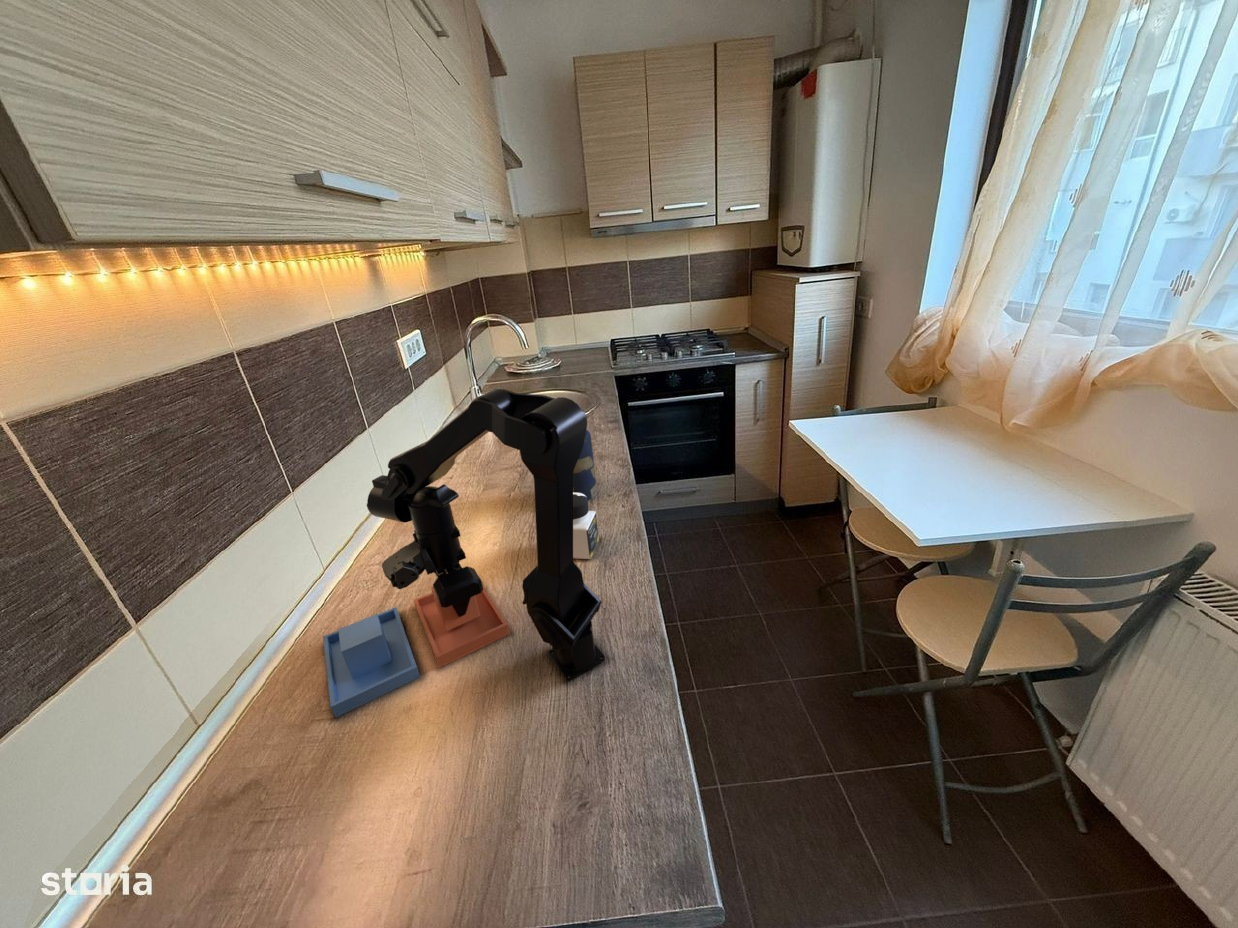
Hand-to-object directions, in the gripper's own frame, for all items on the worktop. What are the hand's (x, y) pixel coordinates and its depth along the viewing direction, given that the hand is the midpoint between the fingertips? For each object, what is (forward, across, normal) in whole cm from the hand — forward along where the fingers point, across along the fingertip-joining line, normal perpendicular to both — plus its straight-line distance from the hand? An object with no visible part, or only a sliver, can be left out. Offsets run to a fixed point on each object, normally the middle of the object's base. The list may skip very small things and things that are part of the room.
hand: (456, 605), depth 79 cm
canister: (+4, -26, +37) cm, 45 cm away
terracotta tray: (+3, 0, 0) cm, 3 cm away
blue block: (+3, 0, -14) cm, 14 cm away
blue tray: (+3, 0, -14) cm, 14 cm away
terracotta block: (+2, 0, 0) cm, 2 cm away
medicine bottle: (+4, -6, +26) cm, 27 cm away
